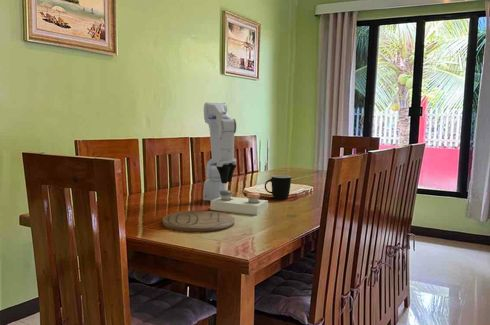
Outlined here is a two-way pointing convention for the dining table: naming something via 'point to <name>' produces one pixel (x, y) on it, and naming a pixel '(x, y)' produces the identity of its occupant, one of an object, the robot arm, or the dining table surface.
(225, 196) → the button
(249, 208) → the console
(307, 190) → the dining table surface
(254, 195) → the button
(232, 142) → the robot arm
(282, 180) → the mug
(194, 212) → the trivet
